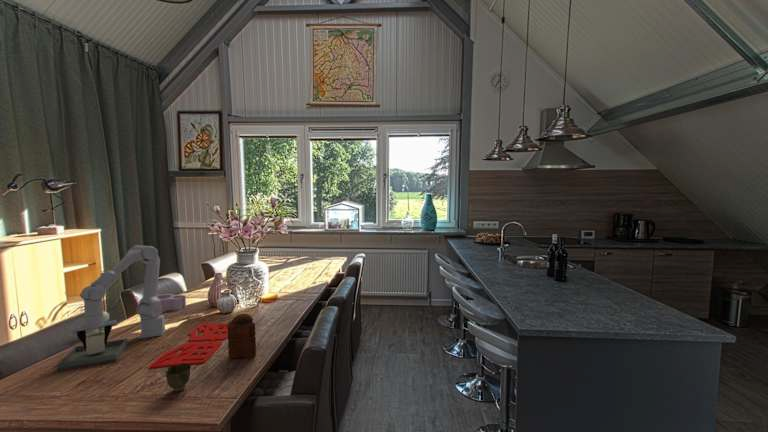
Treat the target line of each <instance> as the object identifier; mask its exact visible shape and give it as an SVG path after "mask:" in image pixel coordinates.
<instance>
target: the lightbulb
mask: <svg viewBox="0 0 768 432" xmlns="http://www.w3.org/2000/svg"><path fill="white" fill-rule="evenodd" d="M109 319H110V313H109V312H108V311H105V310H103V321H110V320H109ZM101 331H104V328H98V329H97V332H101Z"/></svg>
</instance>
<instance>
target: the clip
mask: <svg viewBox="0 0 768 432" xmlns="http://www.w3.org/2000/svg"><path fill="white" fill-rule="evenodd" d="M157 297H158V298H159V299H160V301H161V306H162V311H161V312H166V311H179V310H183V308H186V307H187V303H186V302H187V301H186V300H187V299H186V298H187V297H186V295H185V294H172V293H165V294H157Z"/></svg>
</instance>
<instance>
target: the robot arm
mask: <svg viewBox="0 0 768 432" xmlns="http://www.w3.org/2000/svg"><path fill="white" fill-rule="evenodd" d="M135 262H142V263H143V264H145V271H144V272H145V273H144V282H143V283H144V286H143V295H142V297H141V299H139V301H138V305H137V308H136V314H138V315H139V317H140V335H139V336H138V339H139V340H140V339H146V338H147V339H148V338H154V337H159V336H163V335H164V333H165V330H166V327H165V326H166V324H165V315H164V314H162V312H163V311H162V306H161V301H160V299H159V298H158V297H157V295H158V289H159V278H160V277H159V276H160V266H161V265H160V264H161V258H160V256H159V249H157V248H156V247H155V246H152V245H141V244H135V245H134V246H132V247H131V248H130V249H128V250H127V253H126V254H125V255H124V256H123V257H122V259H120V260H119V262H117V263H116V265H115V266H114V267H112V269H110V270H106V271H104V272H101V274H100V276H99V277H98V278H96V280H94V281H92V282H91V283H90V285H88V286H86V287H84V288H83V289H82V290H81V292H80V294H79V297H80V298H81V299H83V304H84V306H83V307H84V323H85V324H84V325H80V326H76V327H72V328H70V335H75V334H76V337H77V338H78V339H79V340H80V342H81V343H82V345H84V349H86V335H87V333H86V332H88V331H94V330H98V328H104V344H107V342H108V339H109V338H108V337H109V335H110V333H111V331H112V329H113V327H115V326H118V319H114V320H108V321H103V311H104V307H103V306H104V305H103V304H104V303H103V302H104V301H103V298H104V297H105V296H106V294H107V291H108V290H109V289H110V287H112V285H114V284H115V283H116V282H117V281H118V280H119V275H120V274H122V273H123V272H125V270H126V269H127V268H128V267H130V266H131V264H132V265H133V264H134V263H135Z"/></svg>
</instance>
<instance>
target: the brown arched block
mask: <svg viewBox="0 0 768 432" xmlns="http://www.w3.org/2000/svg"><path fill="white" fill-rule="evenodd" d="M227 330H228V338H227V344H228V347H227V349H228V350H227V351H228V358H230V359H250V358H251V359H252V358H255V357H256V356H257V355H256V353H257V343H256V342H257V340H256V335H257V334H256V324H255V323H254V318H253V316H252V315H250V314H248V313H240V314H237V315H235V316H234V317H233V318H232V320H230V321H228V328H227Z"/></svg>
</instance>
